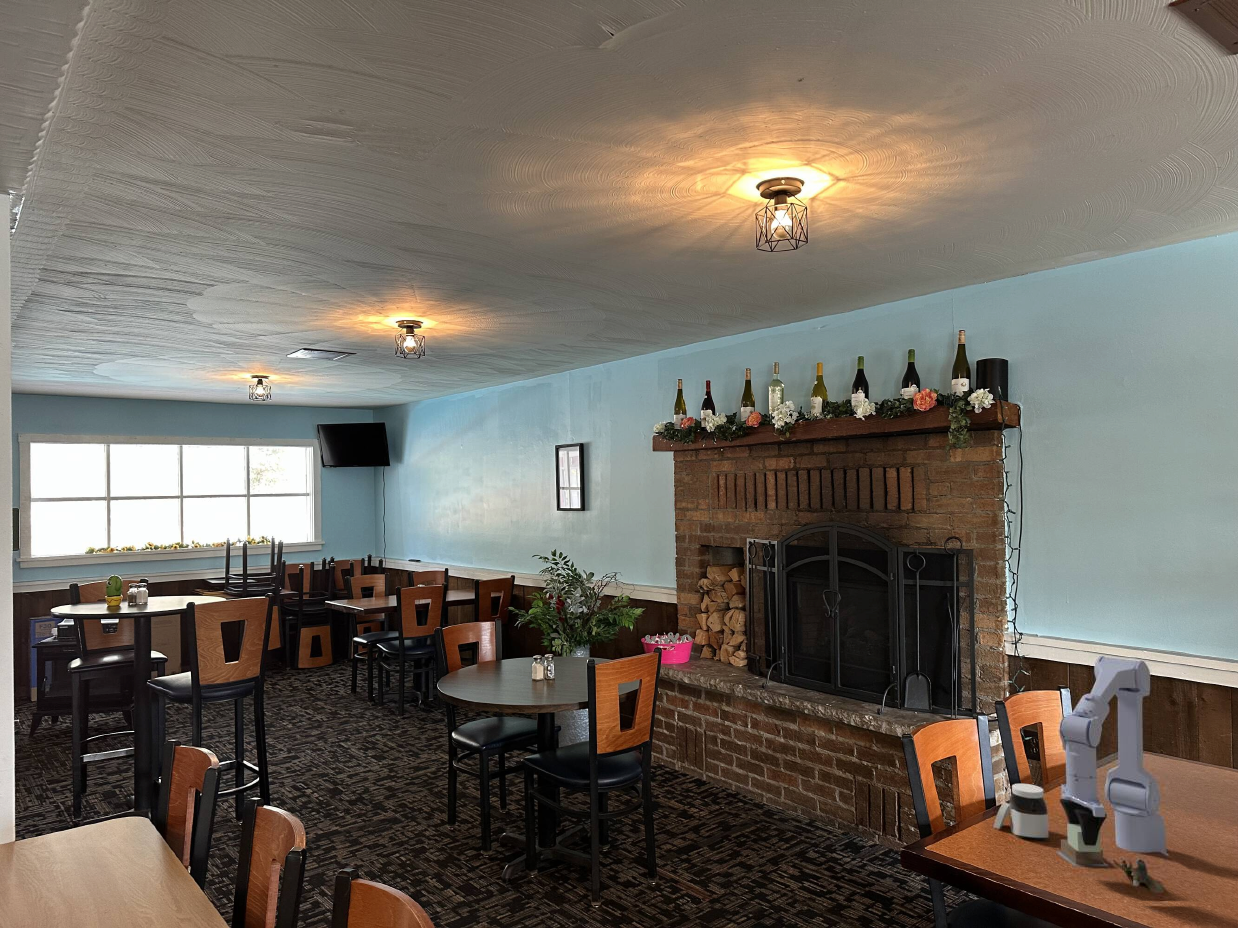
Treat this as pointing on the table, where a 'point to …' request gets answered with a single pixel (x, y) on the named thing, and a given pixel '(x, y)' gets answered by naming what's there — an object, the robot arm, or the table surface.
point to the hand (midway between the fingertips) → (1083, 839)
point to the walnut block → (1080, 854)
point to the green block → (1080, 839)
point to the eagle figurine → (1141, 876)
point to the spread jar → (1025, 813)
